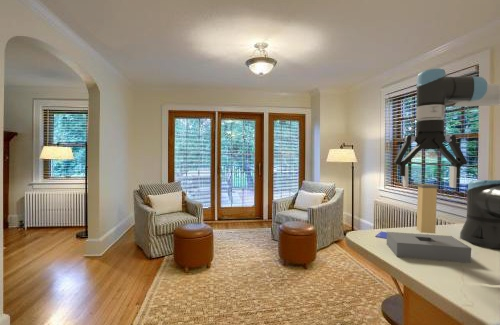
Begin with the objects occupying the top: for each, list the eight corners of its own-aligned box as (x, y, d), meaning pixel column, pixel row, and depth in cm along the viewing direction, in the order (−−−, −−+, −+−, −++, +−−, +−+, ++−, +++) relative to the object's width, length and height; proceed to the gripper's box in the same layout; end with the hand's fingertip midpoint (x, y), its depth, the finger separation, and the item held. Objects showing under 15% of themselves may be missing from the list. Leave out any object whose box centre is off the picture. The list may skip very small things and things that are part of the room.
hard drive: (375, 235, 107) (412, 243, 99) (381, 231, 113) (416, 237, 105) (375, 239, 107) (412, 247, 99) (381, 234, 113) (416, 241, 105)
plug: (430, 229, 92) (431, 184, 91) (435, 233, 88) (437, 185, 87) (416, 229, 93) (417, 183, 92) (420, 232, 89) (422, 185, 88)
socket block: (450, 250, 94) (451, 235, 94) (470, 264, 83) (471, 247, 82) (386, 245, 99) (386, 231, 98) (396, 258, 87) (397, 242, 87)
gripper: (390, 119, 88) (389, 187, 89) (482, 117, 83) (480, 189, 83) (384, 122, 95) (383, 184, 96) (468, 120, 90) (466, 186, 91)
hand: (428, 187), depth 90 cm, fingers open, 13 cm apart
